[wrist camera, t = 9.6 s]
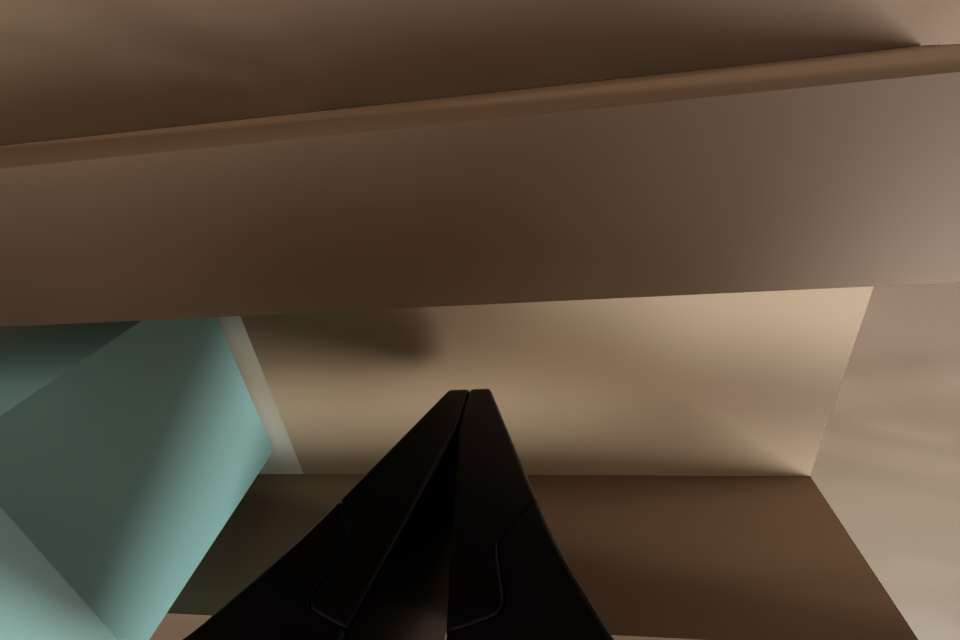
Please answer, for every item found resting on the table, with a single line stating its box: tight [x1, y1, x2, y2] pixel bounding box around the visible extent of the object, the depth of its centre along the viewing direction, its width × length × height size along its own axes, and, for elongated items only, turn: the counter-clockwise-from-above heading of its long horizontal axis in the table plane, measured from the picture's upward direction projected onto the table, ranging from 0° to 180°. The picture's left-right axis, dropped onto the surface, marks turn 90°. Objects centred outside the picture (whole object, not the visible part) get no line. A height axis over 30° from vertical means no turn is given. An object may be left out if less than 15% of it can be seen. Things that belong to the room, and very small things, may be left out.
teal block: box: [0, 317, 274, 640], centre depth 9 cm, size 5×5×5 cm
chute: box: [0, 44, 960, 640], centre depth 9 cm, size 11×18×4 cm, turn 96°
